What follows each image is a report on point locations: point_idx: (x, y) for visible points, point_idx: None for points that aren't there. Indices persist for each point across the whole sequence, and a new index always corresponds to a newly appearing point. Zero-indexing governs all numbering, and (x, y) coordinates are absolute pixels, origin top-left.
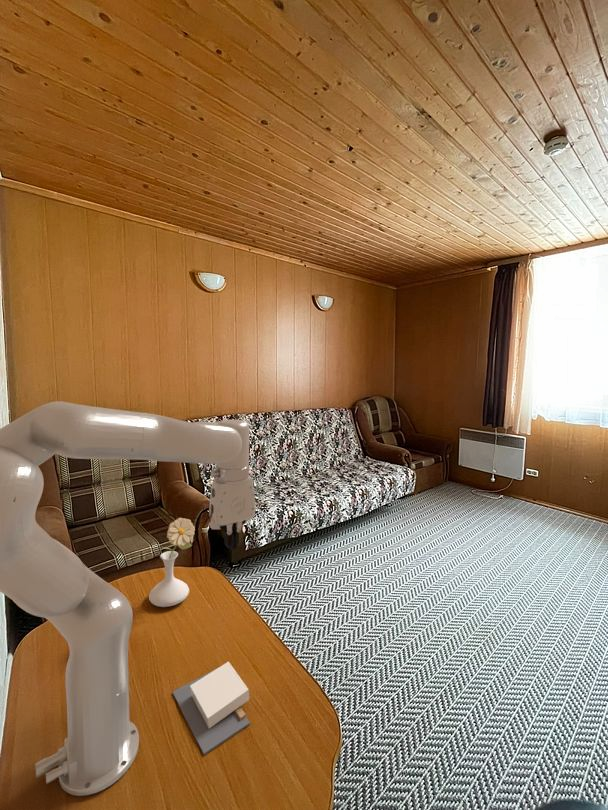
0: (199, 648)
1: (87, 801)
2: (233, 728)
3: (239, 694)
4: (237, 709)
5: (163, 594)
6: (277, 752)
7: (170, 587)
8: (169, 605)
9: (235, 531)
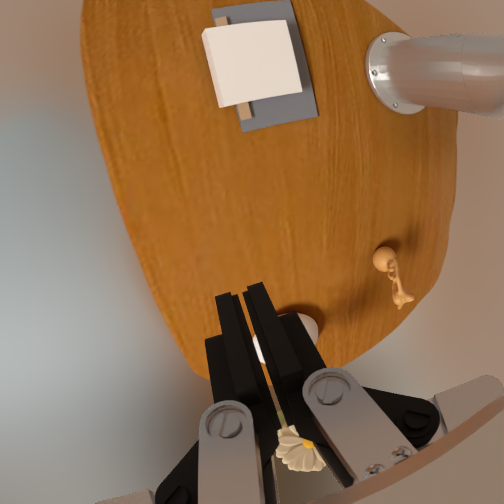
0: (256, 198)
1: (406, 34)
2: (239, 11)
3: (224, 27)
4: None
5: None
6: None
7: None
8: None
9: (253, 410)
